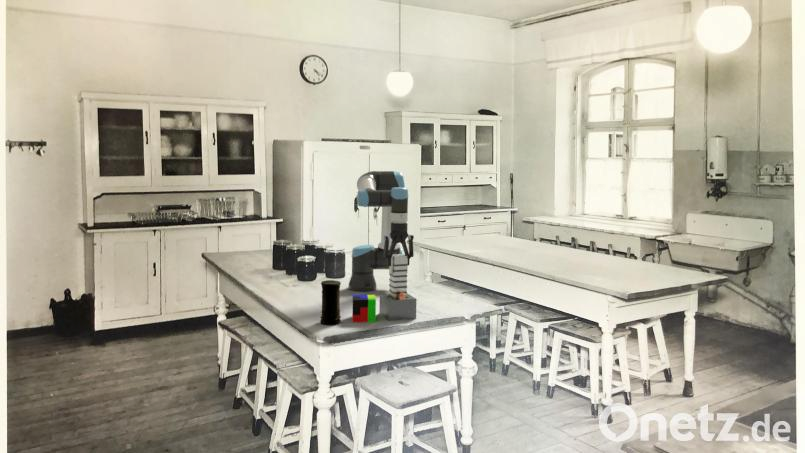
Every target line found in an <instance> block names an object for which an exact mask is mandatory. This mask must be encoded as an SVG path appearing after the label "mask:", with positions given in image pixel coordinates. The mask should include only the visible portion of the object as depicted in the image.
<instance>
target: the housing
mask: <svg viewBox="0 0 805 453" xmlns="http://www.w3.org/2000/svg"><path fill="white" fill-rule="evenodd" d="M406 295H407V298H406V296H405V295H404V292H400V295H398V299H392V298H391V297H389V293H382V294H379V311H378V312H379V315H380V316H382V317H383V318H384V319H386V320H387V321H388V322H389V321H391V322H392V321H400V320H401V321H402V320H414V319H417V300H418V299H417V298H416V297H414V296H412V295H411V294H409V293H408V292H407V294H406Z"/></svg>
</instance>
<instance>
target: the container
mask: <svg viewBox="0 0 805 453" xmlns="http://www.w3.org/2000/svg"><path fill="white" fill-rule="evenodd" d="M341 284H342V283H341V281H339V280H332V279H331V280H330V279H329V280H322V281H321V283H320V285H321V315H320V320H319V322H320V324H321V325H324V326H336V324H337V325H340V324H341V322H342V321H341V318H342V317H341V310H340V308H341V307H340V303H341V302H340V301H341V300H340V299H341V298H340V297H341V296H340V294H341V291H340V289H341ZM339 323H340V324H339Z"/></svg>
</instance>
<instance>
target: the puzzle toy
mask: <svg viewBox="0 0 805 453" xmlns="http://www.w3.org/2000/svg"><path fill="white" fill-rule="evenodd" d="M376 306H377V299H376V294H352V316H351V317H352V323H376V322H377V321H376V317H377V314H376V312H377V310H376V308H377V307H376Z"/></svg>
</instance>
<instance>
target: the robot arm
mask: <svg viewBox="0 0 805 453" xmlns="http://www.w3.org/2000/svg"><path fill="white" fill-rule="evenodd" d="M356 189H357V190H358V191H357V193H356V196H357V197H356V198H357V206H358V207H363V208H368V207H369V208H370V207H371V208H372V207H374V208H375V207H380V208H381V228H380V229H381V232H380V233H381V234H380V242H379V243H378V244H377V247H375V246H374V245H373V244H362V245H358V246H355V247H353V248H352V251H351V276H350V279H349V282H348V287H347V288H348V290H350V291H353V292H369V291H375V290H377V286H378V285H377V282H376V278H375V275H374V270H388V274H389V273H390V274H393V259H391V258H392V255H393V254H404V255H406V256H407V270H409V269H408V268H409V267H408V266H410V259H412V258H413V257H414V256H415V254H414V238H415V236H414V235H413V234H409V233H408V219H409V218H408V217H409V216H408V215H409V212H408V208H409V206H408V205H409V190H408V188H407V187H406V185H405V178H404V174H403V172H401V171H395V170H392V171H391V170H387V171H385V170H384V171H383V170H380V171H379V170H371V171H368V172H365V173H363V174H362V175H360V176H359V178H358V179H357V182H356ZM407 239H408V246H407V241H406V240H407ZM400 244H401V246H402V247H400Z"/></svg>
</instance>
